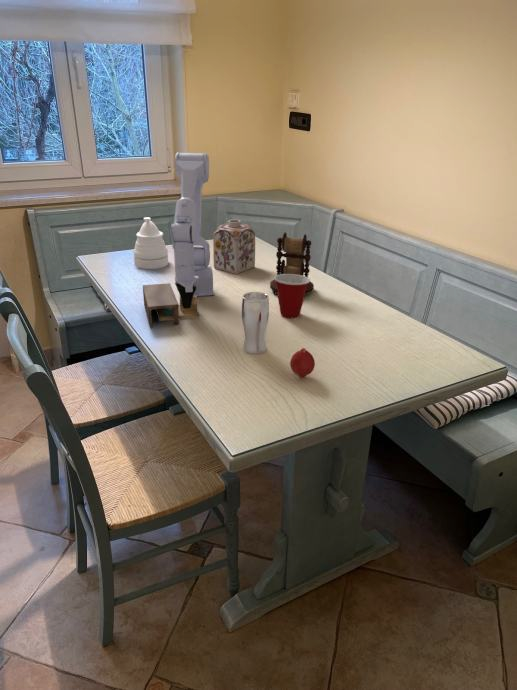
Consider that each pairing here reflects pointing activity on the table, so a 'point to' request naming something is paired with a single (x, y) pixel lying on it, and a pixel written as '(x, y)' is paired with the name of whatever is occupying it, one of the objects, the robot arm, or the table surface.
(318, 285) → the table surface
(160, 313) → the tray
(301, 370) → the onion
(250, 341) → the beer glass
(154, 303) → the wooden caddy
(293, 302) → the plastic cup
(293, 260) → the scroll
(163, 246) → the honey pot
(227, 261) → the decorative jar
